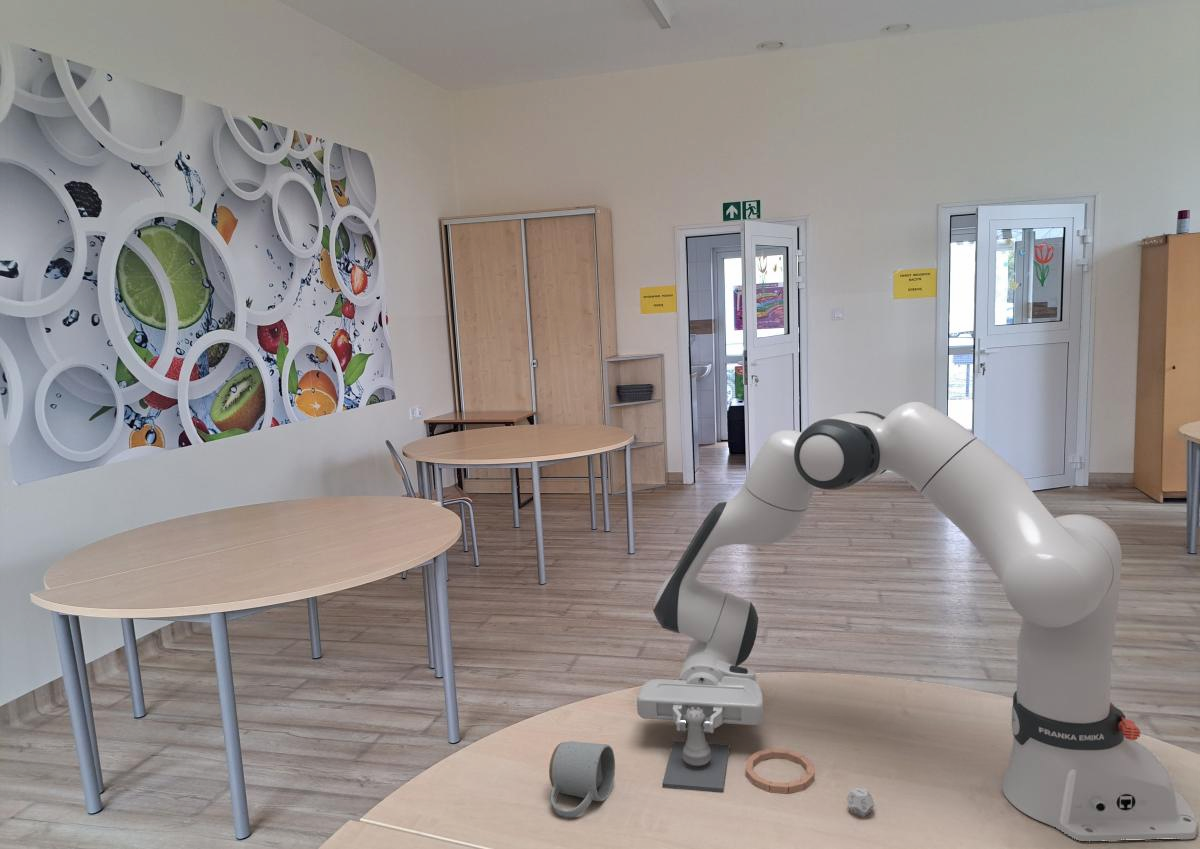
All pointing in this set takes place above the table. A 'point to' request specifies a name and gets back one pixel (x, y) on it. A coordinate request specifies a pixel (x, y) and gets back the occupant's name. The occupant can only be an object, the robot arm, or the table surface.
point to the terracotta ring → (778, 786)
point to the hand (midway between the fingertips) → (694, 727)
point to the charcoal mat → (697, 769)
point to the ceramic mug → (581, 774)
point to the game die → (860, 801)
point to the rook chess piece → (696, 739)
